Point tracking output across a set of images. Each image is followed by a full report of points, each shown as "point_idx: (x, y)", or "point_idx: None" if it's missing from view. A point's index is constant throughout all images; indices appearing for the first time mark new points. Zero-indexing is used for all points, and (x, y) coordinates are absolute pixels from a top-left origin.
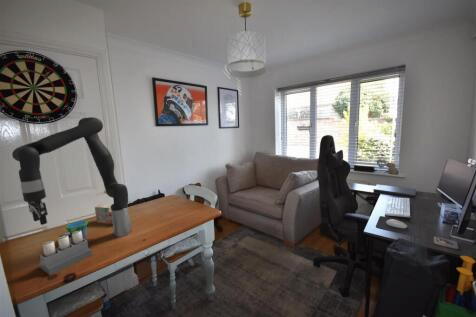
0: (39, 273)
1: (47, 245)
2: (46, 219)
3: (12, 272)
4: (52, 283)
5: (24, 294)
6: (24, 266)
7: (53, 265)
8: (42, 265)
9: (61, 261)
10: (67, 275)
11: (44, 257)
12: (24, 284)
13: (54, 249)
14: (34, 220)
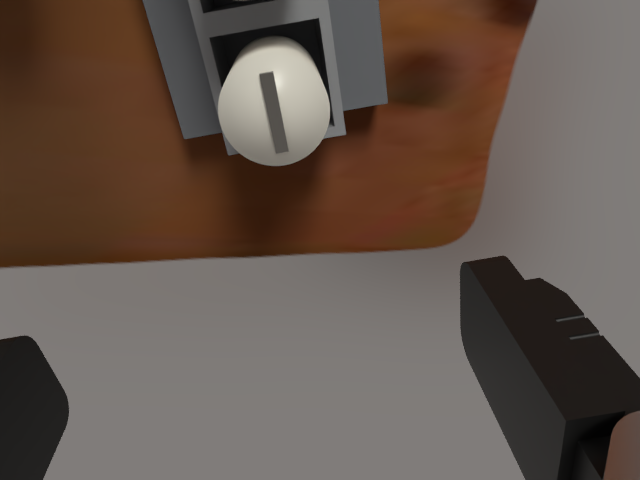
0: None
1: (326, 127)
2: (551, 312)
3: (120, 251)
4: (502, 97)
5: (464, 219)
6: (82, 197)
7: (353, 67)
8: None
9: (340, 4)
10: (500, 2)
11: None
12: (351, 212)
13: (302, 52)
14: (64, 427)
